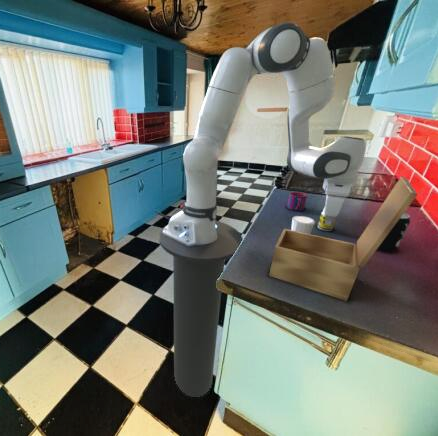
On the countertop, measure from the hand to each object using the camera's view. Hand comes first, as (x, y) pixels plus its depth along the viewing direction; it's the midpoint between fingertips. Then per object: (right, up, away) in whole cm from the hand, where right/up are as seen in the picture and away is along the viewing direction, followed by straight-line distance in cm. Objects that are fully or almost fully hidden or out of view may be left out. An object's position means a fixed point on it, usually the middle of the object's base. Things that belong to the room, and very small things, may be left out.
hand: (328, 219), depth 89 cm
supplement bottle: (0, -4, +2) cm, 4 cm away
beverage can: (+9, -9, -11) cm, 17 cm away
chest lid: (-16, 0, -36) cm, 39 cm away
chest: (-23, -16, -22) cm, 35 cm away
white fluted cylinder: (-13, -6, -3) cm, 15 cm away
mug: (-1, +4, +19) cm, 20 cm away
